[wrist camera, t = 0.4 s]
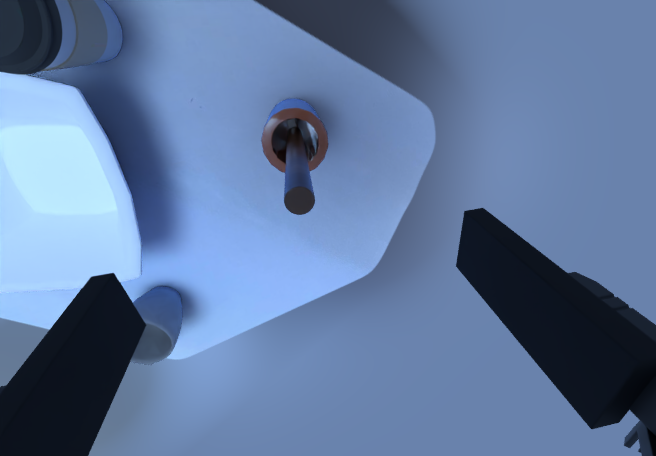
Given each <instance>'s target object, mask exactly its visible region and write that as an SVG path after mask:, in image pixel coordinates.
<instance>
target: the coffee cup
mask: <svg viewBox="0 0 656 456" xmlns="http://www.w3.org/2000/svg"><path fill="white" fill-rule="evenodd" d="M122 42H123V35H122V29H121V25H120V23H119V20H118V18H117V16H116V14H115V13H114V11H113V10H112V9H111V7H110V6H109V5H108V4H107V3H106V2H105V1H104V0H0V72H4V73H10V74H19V75H24V74H32V73H36V72H39V71H48V70H55V69H63V68H71V67H78V66H86V65H90V64H92V63H98V62H105V61H109V60H111V59H113V58H114V57H116V56H117V54H118V53H119V51H120V49H121V47H122Z"/></svg>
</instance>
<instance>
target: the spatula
mask: <svg viewBox="0 0 656 456" xmlns="http://www.w3.org/2000/svg"><path fill="white" fill-rule="evenodd" d="M287 124H288V128H289V130H288V132H287V146H286V169H285V193H284V203H285V206H286V208H287V209H288V210H289V211H290V212H291V213H293V214H297V215H302V214H306V213H308V212H309V211H310V210H311V209H312V208H313V206H314V203H315V197H314V192H313V187H312V182H311V176H310V171H309V166H308V160H307V155H306V150H305V145H304V139H303V134H302V131H301V130H300V129H299V128H298V124H297V120H296V118H295V119H287Z"/></svg>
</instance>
